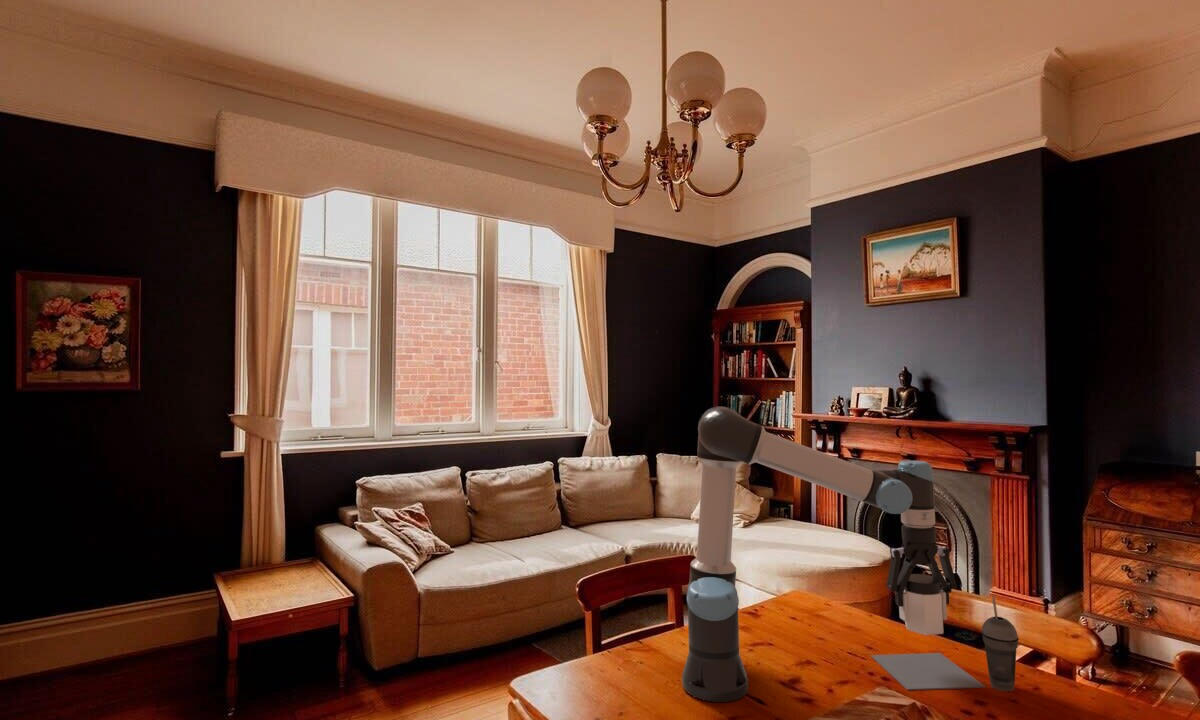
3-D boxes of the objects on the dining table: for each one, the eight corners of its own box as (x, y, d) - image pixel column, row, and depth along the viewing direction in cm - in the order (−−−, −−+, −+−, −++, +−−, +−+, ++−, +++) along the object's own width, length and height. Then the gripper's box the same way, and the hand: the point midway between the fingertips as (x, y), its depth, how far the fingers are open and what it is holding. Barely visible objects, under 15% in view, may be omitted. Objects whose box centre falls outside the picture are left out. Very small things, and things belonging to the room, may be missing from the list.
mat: (907, 690, 142) (907, 689, 142) (870, 656, 160) (870, 655, 160) (985, 687, 143) (985, 686, 143) (939, 654, 161) (939, 652, 161)
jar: (950, 629, 151) (947, 579, 151) (936, 638, 146) (933, 586, 146) (912, 619, 158) (910, 571, 158) (897, 628, 153) (895, 578, 153)
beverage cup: (1003, 696, 138) (999, 605, 139) (975, 682, 145) (971, 594, 146) (1029, 691, 140) (1024, 601, 141) (1000, 677, 147) (996, 591, 148)
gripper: (882, 529, 149) (887, 626, 148) (971, 526, 149) (976, 622, 148) (867, 523, 156) (872, 614, 155) (952, 520, 157) (957, 611, 156)
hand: (923, 618), depth 152 cm, fingers closed on jar, 9 cm apart
